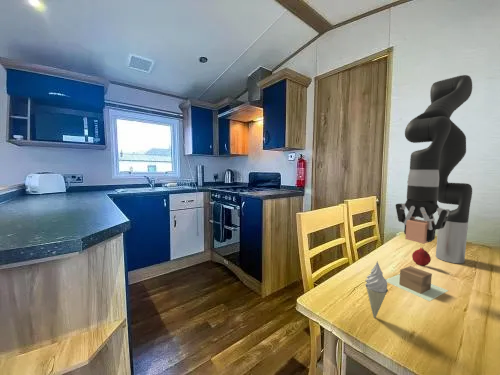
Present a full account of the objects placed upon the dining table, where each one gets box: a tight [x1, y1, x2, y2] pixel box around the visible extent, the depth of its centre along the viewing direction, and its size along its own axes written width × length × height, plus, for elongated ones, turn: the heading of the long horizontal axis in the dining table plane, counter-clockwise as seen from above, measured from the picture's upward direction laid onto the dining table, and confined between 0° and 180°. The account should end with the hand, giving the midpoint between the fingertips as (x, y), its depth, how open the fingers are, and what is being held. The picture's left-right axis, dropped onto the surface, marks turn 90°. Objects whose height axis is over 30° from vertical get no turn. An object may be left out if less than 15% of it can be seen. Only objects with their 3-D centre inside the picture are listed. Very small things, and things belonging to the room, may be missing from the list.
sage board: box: [385, 273, 449, 302], centre depth 70 cm, size 12×13×1 cm
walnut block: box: [399, 265, 433, 294], centre depth 69 cm, size 6×6×5 cm
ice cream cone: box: [364, 261, 389, 319], centre depth 56 cm, size 5×5×15 cm
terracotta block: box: [404, 218, 429, 244], centre depth 68 cm, size 5×5×6 cm
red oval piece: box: [411, 246, 432, 267], centre depth 87 cm, size 6×6×8 cm
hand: (418, 238), depth 68 cm, fingers closed on terracotta block, 5 cm apart
